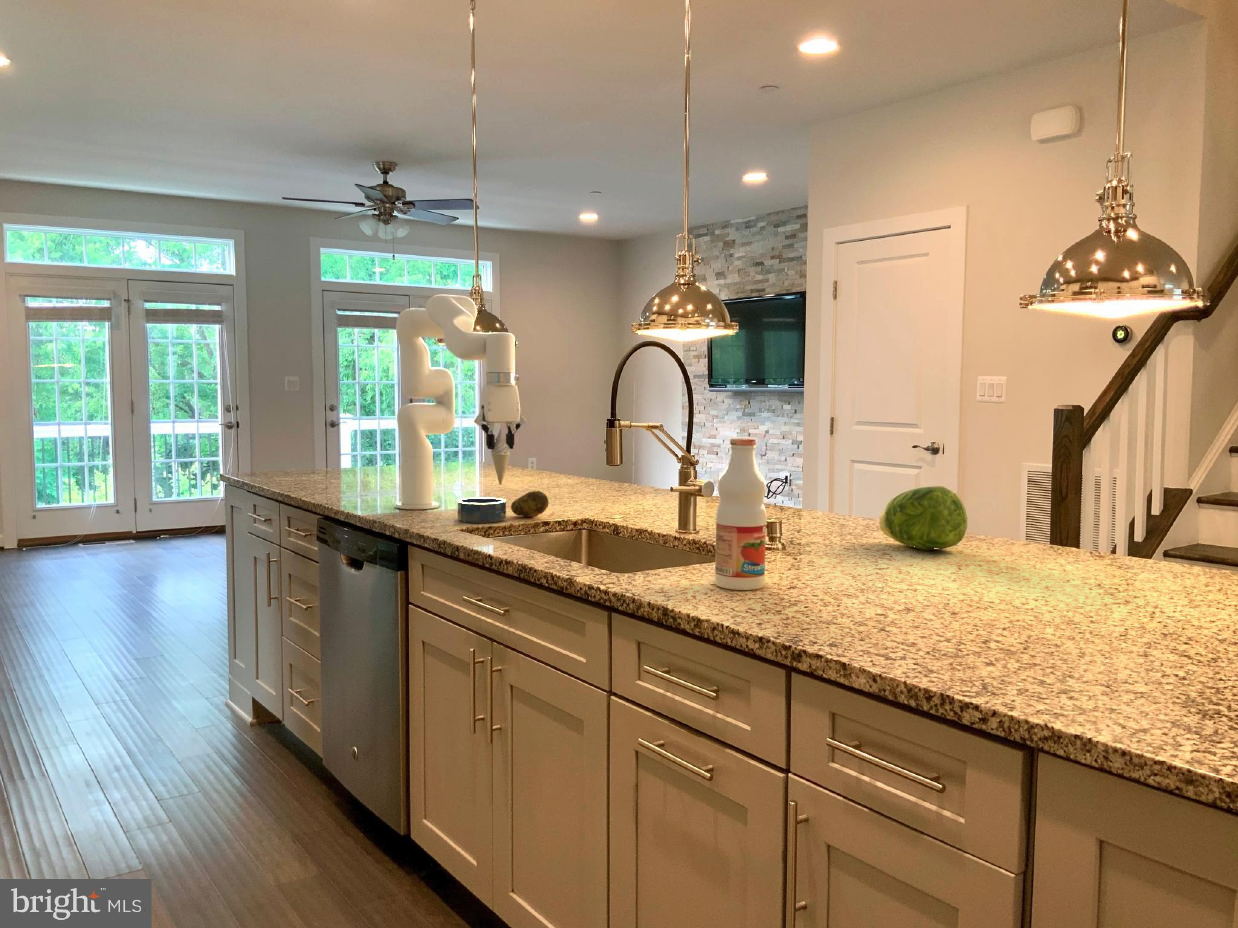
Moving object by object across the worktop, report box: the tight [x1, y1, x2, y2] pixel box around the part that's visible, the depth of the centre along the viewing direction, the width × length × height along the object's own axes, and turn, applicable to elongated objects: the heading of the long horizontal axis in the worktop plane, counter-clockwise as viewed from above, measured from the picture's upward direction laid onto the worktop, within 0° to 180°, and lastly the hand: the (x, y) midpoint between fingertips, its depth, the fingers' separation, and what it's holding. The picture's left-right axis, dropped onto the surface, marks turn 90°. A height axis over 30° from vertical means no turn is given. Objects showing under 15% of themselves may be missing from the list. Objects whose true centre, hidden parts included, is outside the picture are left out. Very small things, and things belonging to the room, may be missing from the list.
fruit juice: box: [714, 438, 767, 591], centre depth 176 cm, size 9×9×28 cm
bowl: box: [456, 497, 507, 524], centre depth 257 cm, size 13×13×6 cm
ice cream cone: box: [490, 428, 511, 486], centre depth 246 cm, size 5×5×15 cm
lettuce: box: [878, 485, 968, 552], centre depth 220 cm, size 16×21×15 cm
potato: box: [510, 490, 550, 518], centre depth 263 cm, size 8×13×8 cm, turn 27°
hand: (500, 448), depth 245 cm, fingers closed on ice cream cone, 4 cm apart
